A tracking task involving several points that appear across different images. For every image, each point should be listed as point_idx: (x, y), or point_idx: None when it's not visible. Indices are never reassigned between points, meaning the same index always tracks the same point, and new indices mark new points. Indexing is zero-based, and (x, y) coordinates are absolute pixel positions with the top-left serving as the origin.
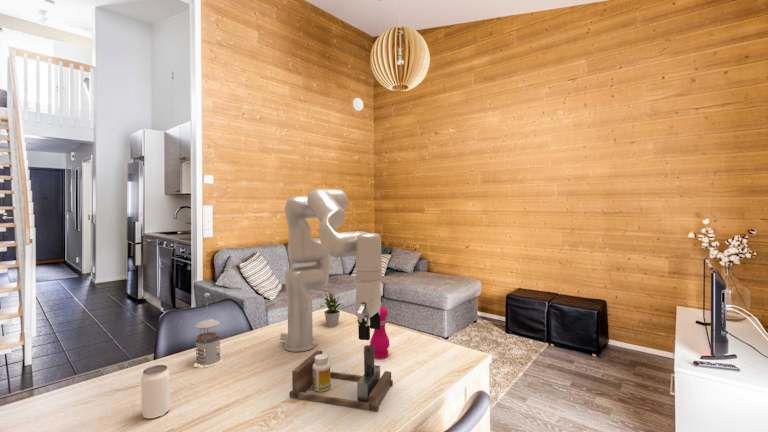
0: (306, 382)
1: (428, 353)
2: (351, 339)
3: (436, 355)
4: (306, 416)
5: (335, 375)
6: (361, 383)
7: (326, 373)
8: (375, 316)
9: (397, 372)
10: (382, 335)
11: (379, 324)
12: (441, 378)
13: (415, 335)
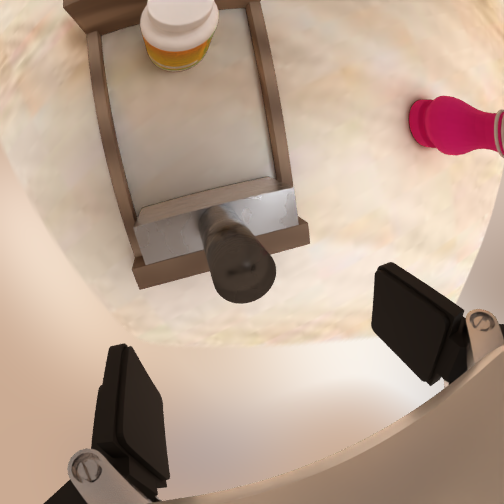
0: (136, 13)
1: (449, 233)
2: (453, 30)
3: (444, 252)
4: (31, 127)
5: (257, 47)
6: (138, 243)
7: (164, 54)
8: (434, 362)
9: (361, 210)
10: (468, 142)
11: (393, 344)
12: (358, 313)
13: (498, 171)
